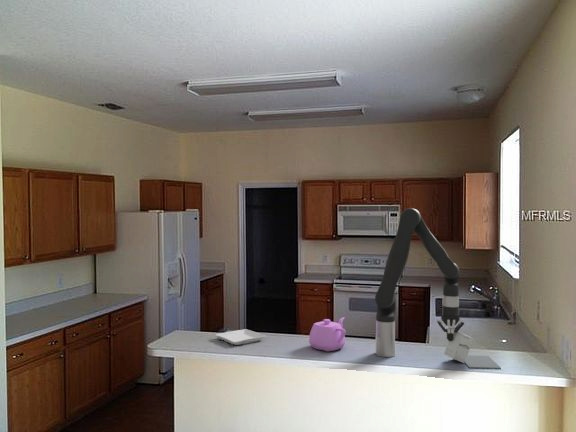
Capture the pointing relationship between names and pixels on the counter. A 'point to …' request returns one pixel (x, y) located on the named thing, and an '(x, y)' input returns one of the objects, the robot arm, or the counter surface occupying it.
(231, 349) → the counter surface
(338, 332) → the teapot
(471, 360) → the charcoal mat
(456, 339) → the supplement box
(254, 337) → the salad plate
